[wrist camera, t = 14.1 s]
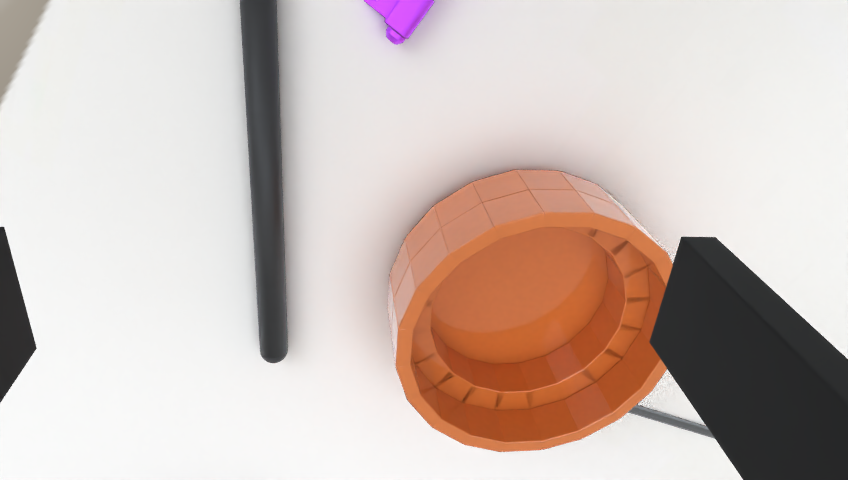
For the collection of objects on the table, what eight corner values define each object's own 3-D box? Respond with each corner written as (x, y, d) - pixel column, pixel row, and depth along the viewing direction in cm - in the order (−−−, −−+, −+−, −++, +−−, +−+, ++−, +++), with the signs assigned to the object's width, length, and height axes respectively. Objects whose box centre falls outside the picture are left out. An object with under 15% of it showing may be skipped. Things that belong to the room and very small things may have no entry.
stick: (153, 24, 34) (245, -41, 27) (181, 22, 35) (276, -41, 28) (259, 366, 38) (365, 389, 31) (281, 354, 39) (388, 374, 32)
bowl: (394, 162, 34) (405, 211, 29) (664, 168, 36) (721, 213, 31) (382, 386, 41) (389, 458, 36) (608, 379, 44) (646, 445, 38)
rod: (586, 387, 44) (590, 393, 43) (783, 448, 50) (789, 454, 49) (581, 394, 44) (585, 401, 44) (778, 454, 50) (783, 461, 49)
